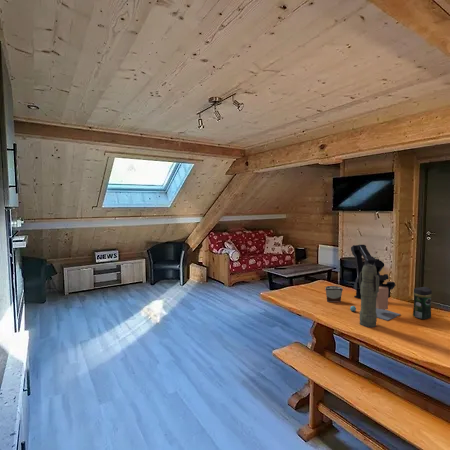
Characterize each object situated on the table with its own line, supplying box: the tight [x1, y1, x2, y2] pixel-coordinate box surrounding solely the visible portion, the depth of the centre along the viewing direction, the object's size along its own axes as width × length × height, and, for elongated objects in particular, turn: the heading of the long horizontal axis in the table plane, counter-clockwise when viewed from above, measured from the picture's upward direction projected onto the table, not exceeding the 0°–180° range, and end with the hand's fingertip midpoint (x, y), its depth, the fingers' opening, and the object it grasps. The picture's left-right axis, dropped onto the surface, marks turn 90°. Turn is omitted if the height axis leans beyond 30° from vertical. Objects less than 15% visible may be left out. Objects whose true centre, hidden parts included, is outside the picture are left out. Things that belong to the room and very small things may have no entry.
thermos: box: [359, 263, 379, 328], centre depth 173 cm, size 9×12×35 cm
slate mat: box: [376, 308, 401, 322], centre depth 190 cm, size 16×16×1 cm
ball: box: [349, 305, 357, 312], centre depth 195 cm, size 4×4×4 cm
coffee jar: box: [412, 286, 433, 320], centre depth 184 cm, size 10×8×19 cm
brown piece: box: [376, 286, 389, 310], centre depth 189 cm, size 7×7×13 cm
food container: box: [324, 285, 344, 303], centre depth 216 cm, size 12×6×10 cm, turn 84°
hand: (382, 297), depth 188 cm, fingers closed on brown piece, 8 cm apart
